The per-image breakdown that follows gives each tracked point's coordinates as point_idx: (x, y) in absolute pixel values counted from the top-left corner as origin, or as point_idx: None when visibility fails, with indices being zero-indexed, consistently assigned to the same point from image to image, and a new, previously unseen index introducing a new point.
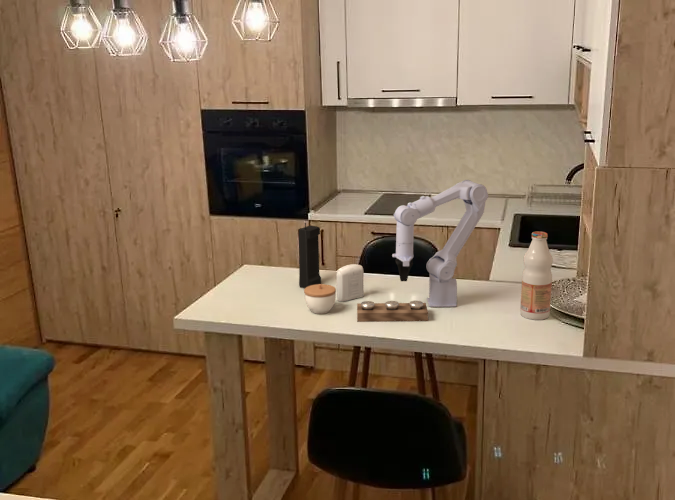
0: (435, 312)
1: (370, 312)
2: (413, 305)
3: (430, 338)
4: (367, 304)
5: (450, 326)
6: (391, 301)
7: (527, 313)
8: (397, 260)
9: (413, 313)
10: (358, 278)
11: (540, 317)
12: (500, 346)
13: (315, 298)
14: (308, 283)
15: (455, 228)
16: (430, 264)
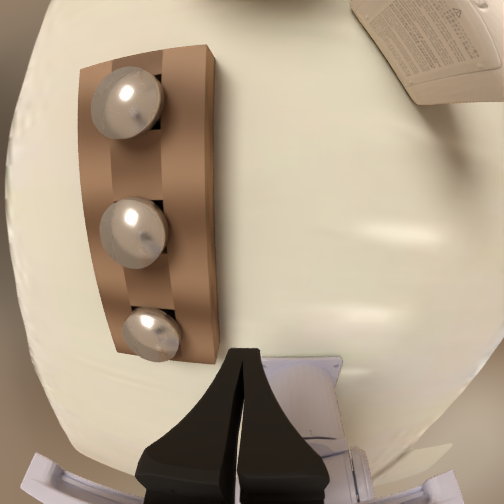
0: (209, 365)
1: (83, 126)
2: (123, 324)
3: (31, 310)
4: (106, 103)
5: (108, 371)
6: (151, 234)
7: None
8: (263, 484)
9: (105, 306)
10: (455, 61)
11: None
12: (55, 404)
13: None
14: None
15: None
16: (330, 494)
